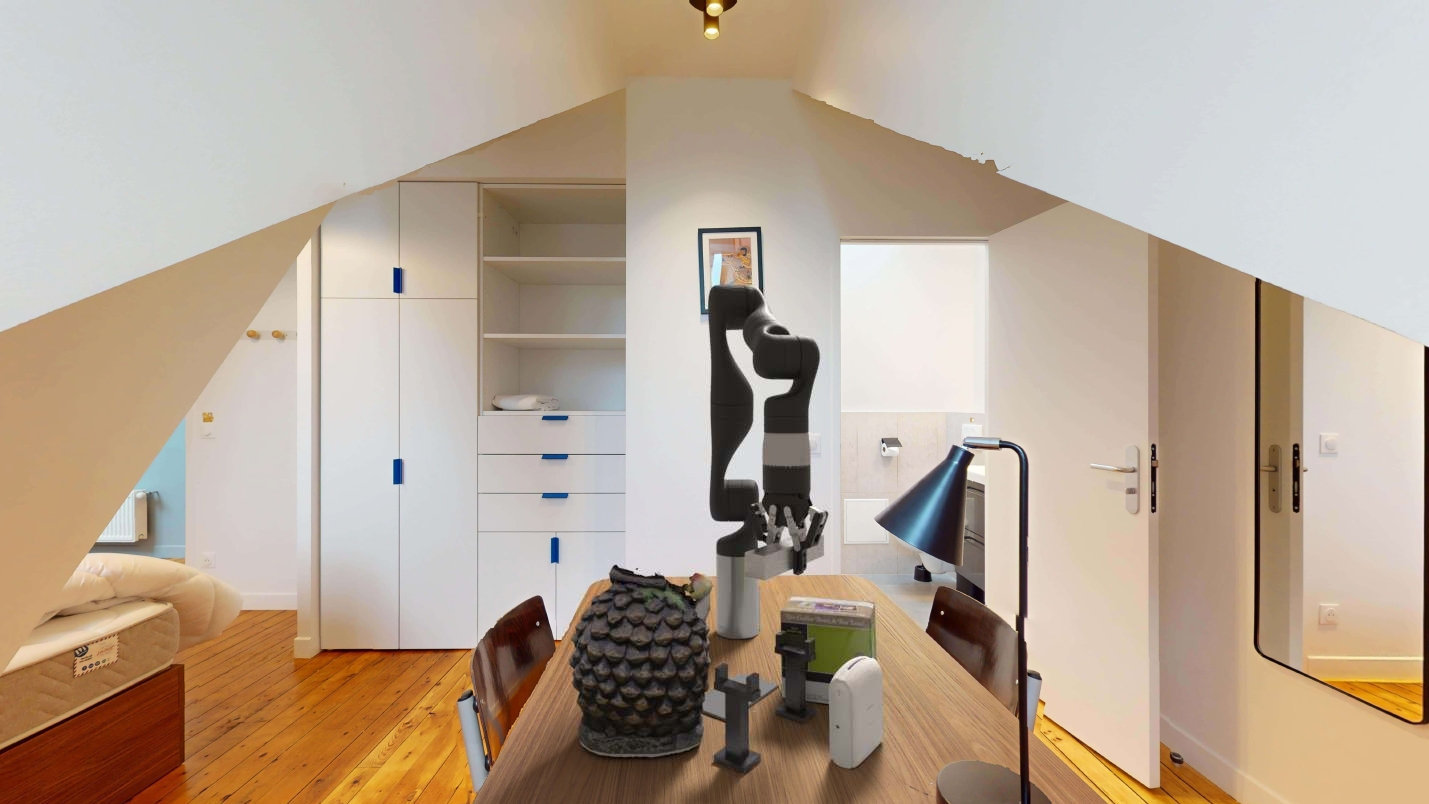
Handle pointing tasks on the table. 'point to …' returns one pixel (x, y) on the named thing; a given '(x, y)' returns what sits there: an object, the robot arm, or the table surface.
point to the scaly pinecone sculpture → (643, 665)
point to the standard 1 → (737, 720)
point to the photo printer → (855, 711)
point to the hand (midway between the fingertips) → (787, 571)
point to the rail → (776, 558)
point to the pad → (716, 699)
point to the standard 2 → (795, 678)
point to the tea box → (828, 637)
